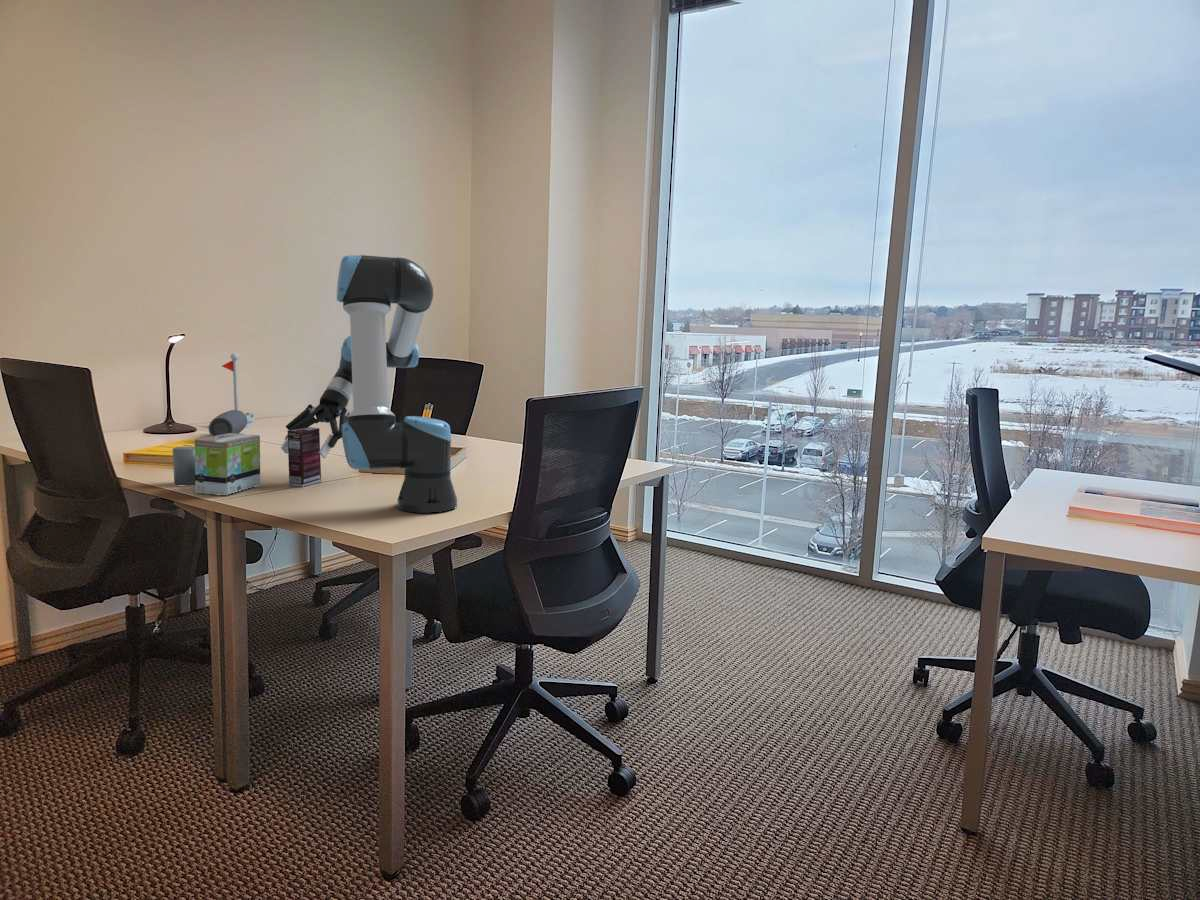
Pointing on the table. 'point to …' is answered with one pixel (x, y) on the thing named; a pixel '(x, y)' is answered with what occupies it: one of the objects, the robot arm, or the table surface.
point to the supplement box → (304, 456)
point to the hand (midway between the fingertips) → (302, 453)
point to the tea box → (227, 463)
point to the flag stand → (233, 367)
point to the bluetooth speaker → (228, 423)
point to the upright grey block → (184, 465)
